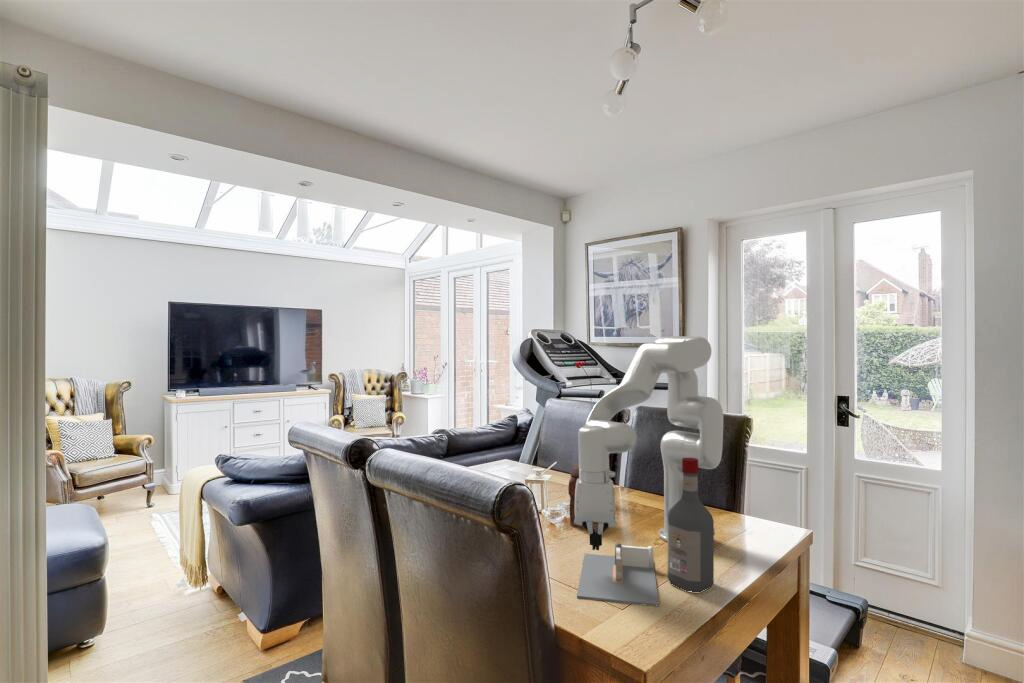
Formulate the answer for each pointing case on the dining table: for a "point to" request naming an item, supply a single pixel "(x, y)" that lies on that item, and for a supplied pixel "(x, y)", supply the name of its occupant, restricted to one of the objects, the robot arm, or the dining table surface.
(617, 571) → the hinged panel
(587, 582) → the board
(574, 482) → the wooden figurine
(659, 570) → the dining table surface
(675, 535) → the liquor
